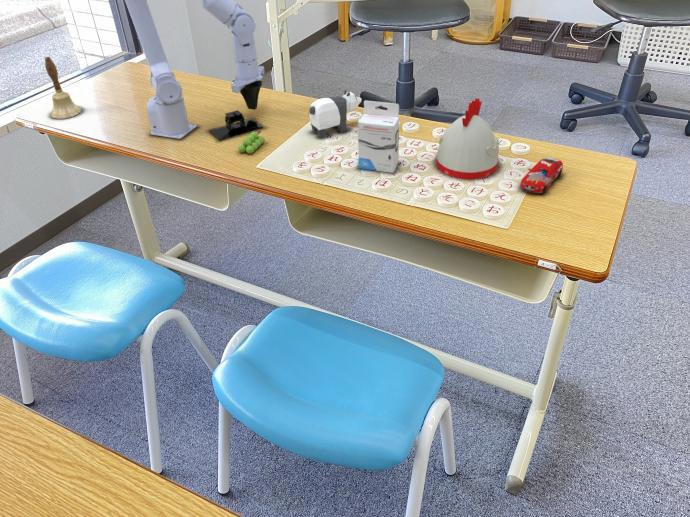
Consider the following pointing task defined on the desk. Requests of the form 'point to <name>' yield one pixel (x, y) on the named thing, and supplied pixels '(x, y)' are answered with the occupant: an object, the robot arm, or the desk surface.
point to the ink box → (379, 137)
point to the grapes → (251, 143)
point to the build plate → (235, 126)
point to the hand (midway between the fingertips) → (252, 108)
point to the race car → (542, 175)
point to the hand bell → (60, 95)
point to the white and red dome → (468, 147)
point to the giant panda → (332, 112)
